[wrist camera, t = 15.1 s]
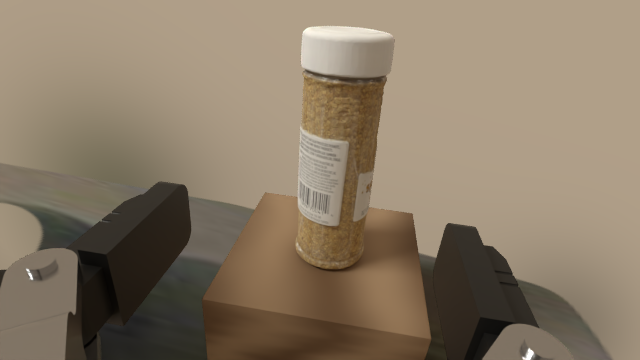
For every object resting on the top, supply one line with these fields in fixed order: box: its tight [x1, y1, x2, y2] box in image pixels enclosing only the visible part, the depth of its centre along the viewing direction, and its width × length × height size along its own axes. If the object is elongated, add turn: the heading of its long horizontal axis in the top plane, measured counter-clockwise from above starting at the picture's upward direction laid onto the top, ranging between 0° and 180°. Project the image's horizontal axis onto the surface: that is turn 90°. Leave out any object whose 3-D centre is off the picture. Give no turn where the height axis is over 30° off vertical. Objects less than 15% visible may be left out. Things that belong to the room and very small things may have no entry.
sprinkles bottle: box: [295, 26, 395, 269], centre depth 21 cm, size 5×5×13 cm
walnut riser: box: [202, 193, 431, 360], centre depth 26 cm, size 12×12×7 cm
